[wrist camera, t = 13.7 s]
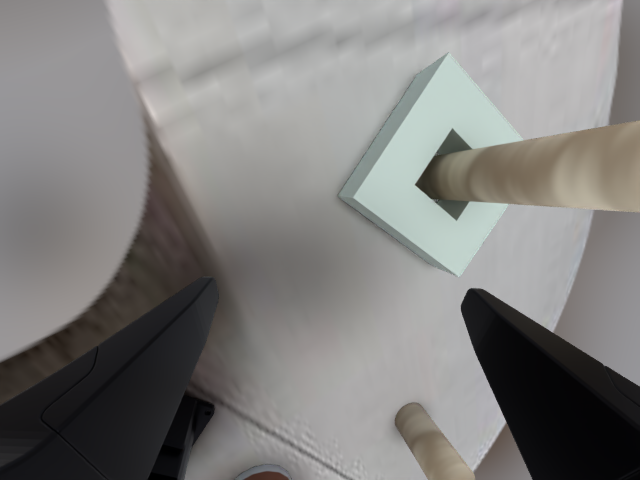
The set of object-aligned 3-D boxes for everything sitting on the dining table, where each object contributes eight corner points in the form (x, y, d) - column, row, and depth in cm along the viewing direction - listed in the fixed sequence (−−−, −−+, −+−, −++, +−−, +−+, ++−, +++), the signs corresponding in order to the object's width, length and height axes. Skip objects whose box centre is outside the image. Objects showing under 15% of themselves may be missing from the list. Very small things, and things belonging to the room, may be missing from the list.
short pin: (411, 434, 29) (458, 507, 22) (389, 425, 28) (431, 500, 21) (429, 408, 29) (482, 474, 22) (407, 398, 28) (456, 464, 21)
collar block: (432, 265, 25) (459, 277, 22) (337, 196, 21) (353, 197, 18) (501, 162, 25) (539, 158, 22) (417, 73, 21) (448, 52, 18)
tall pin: (441, 196, 24) (678, 208, 11) (407, 199, 23) (618, 217, 10) (443, 156, 23) (700, 115, 10) (408, 158, 22) (637, 115, 9)
